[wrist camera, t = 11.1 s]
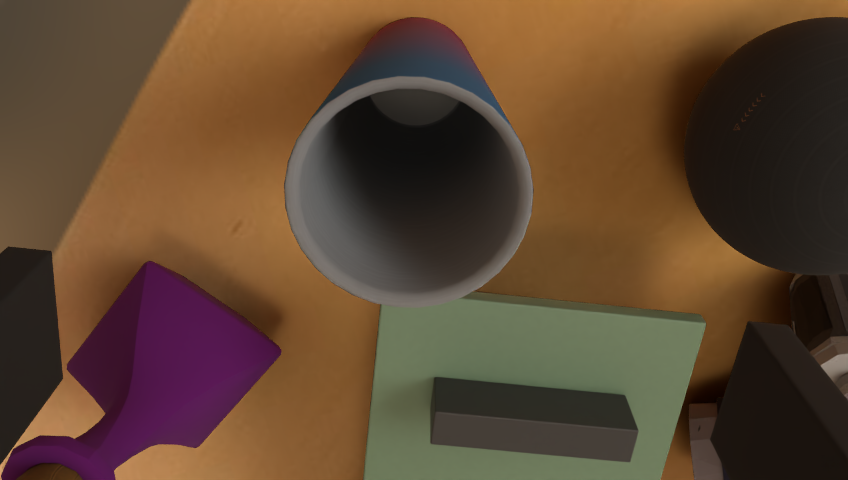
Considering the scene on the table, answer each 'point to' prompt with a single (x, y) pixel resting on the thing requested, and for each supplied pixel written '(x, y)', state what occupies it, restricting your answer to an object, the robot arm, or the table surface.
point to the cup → (409, 173)
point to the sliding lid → (527, 390)
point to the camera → (819, 332)
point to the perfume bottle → (152, 377)
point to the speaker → (777, 148)
